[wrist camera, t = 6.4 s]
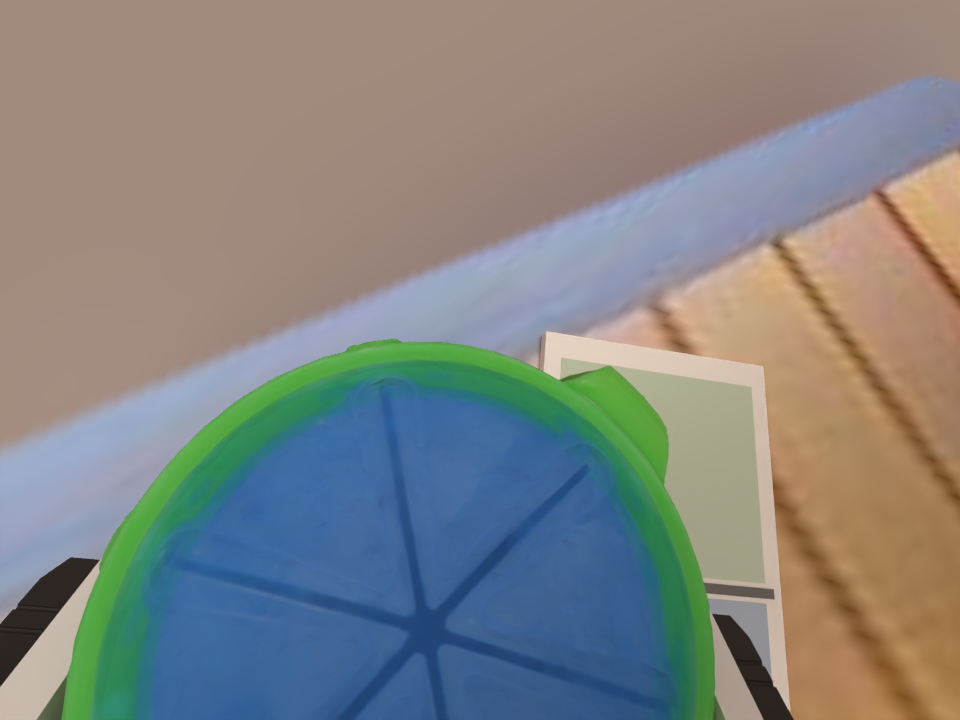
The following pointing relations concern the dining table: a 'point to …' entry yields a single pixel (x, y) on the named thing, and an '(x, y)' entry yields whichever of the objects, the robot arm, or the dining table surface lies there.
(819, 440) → the dining table surface
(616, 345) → the picture board
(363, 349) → the snack cup
